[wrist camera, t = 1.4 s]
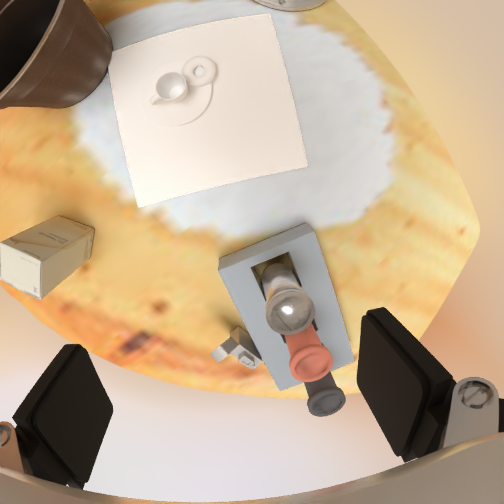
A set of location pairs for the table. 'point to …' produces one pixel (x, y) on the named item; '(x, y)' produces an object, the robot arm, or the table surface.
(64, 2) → the plant pot
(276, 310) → the plug grey
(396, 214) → the table surface
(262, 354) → the socket board
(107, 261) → the table surface
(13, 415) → the robot arm
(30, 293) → the skincare box
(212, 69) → the teacup and saucer
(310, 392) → the plug black
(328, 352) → the plug red
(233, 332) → the grey white bent piece
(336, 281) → the table surface
